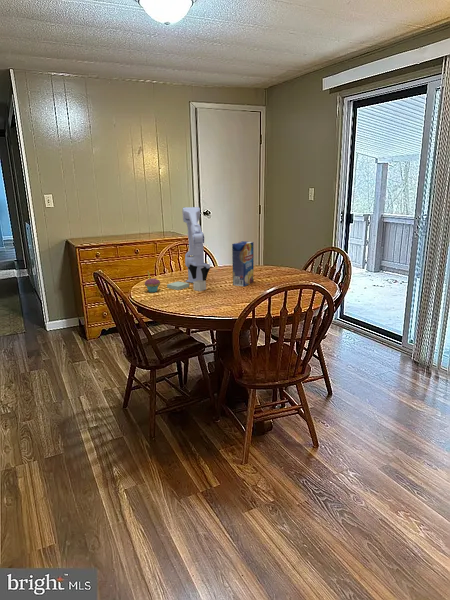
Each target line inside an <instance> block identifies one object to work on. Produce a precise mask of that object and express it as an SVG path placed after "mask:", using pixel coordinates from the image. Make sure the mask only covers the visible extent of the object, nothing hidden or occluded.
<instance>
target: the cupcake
mask: <svg viewBox="0 0 450 600" xmlns="http://www.w3.org/2000/svg"><path fill="white" fill-rule="evenodd" d="M147 275H148V276H147V277H148V279H146V281H144V286H145V287H146V288H147V291H148V292H149V293H157V292H158V290H159V286H160V285H161V281H160V280H159V279H157V278H151V276H150V275H151V274H150V272H149V270H147Z"/></svg>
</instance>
